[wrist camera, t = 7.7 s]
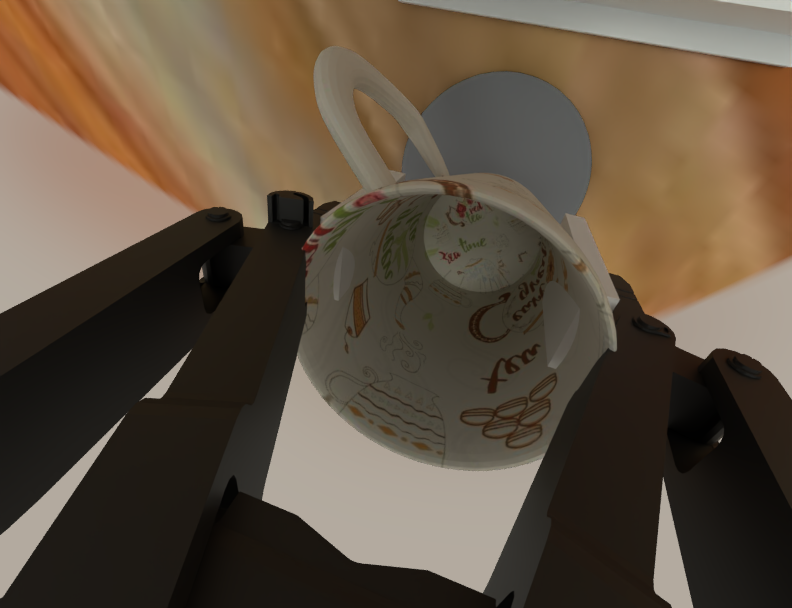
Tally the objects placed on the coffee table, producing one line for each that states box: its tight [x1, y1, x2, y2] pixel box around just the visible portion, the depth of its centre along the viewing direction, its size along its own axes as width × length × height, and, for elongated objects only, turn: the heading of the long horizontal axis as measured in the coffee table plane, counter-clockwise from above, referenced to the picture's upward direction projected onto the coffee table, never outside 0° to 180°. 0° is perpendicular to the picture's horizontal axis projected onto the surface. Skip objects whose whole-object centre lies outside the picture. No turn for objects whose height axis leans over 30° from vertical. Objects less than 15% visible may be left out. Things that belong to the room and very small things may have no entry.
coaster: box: [402, 71, 592, 224], centre depth 22 cm, size 11×11×1 cm
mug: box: [297, 46, 617, 471], centre depth 13 cm, size 8×13×10 cm, turn 36°
